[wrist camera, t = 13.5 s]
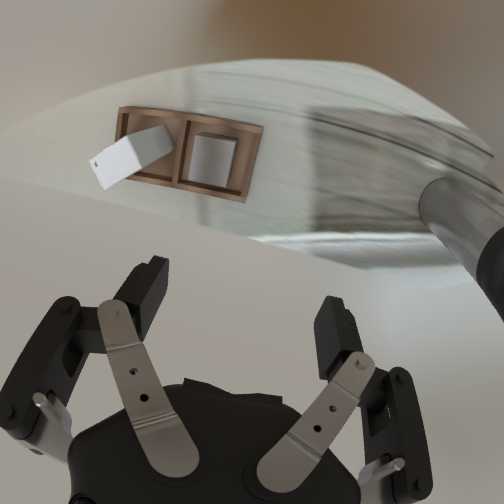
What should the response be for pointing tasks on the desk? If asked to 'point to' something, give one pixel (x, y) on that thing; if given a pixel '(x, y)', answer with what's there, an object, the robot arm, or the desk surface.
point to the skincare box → (131, 155)
